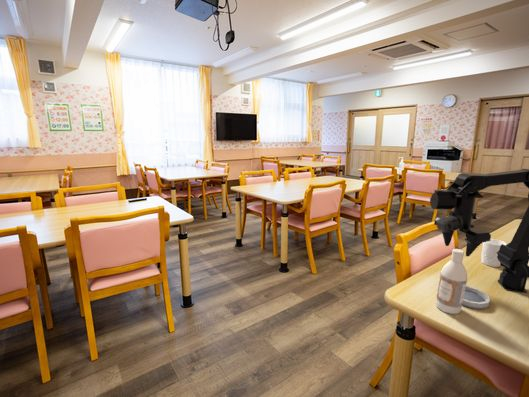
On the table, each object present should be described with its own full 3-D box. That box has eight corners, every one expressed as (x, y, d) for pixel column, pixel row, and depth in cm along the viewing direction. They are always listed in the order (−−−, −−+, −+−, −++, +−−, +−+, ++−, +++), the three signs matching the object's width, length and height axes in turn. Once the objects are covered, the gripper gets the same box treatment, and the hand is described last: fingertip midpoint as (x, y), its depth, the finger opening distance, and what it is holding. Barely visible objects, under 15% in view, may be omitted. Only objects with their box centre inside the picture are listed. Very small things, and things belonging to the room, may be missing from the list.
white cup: (503, 269, 118) (508, 247, 116) (479, 264, 122) (484, 242, 120) (500, 262, 124) (505, 240, 122) (478, 257, 129) (482, 237, 126)
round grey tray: (480, 292, 101) (481, 287, 101) (496, 312, 90) (497, 306, 90) (442, 286, 105) (443, 281, 104) (452, 305, 94) (453, 300, 93)
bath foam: (430, 304, 94) (439, 247, 89) (444, 299, 97) (454, 244, 92) (450, 317, 88) (462, 257, 83) (465, 311, 90) (477, 253, 86)
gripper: (424, 204, 108) (419, 242, 112) (465, 219, 90) (458, 264, 94) (450, 202, 110) (444, 240, 113) (496, 216, 92) (487, 261, 95)
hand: (456, 250), depth 104 cm, fingers open, 9 cm apart
